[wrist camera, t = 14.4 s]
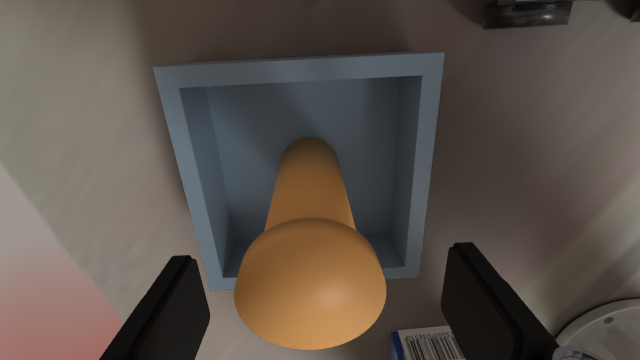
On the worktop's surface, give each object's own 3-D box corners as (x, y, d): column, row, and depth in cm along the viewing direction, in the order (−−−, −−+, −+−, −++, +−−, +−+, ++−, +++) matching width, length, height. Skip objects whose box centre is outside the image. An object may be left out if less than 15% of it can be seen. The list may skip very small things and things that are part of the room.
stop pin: (344, 128, 20) (390, 230, 9) (345, 195, 22) (383, 345, 11) (269, 132, 20) (221, 240, 9) (277, 199, 22) (246, 354, 11)
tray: (412, 50, 19) (445, 52, 14) (398, 235, 25) (418, 277, 20) (190, 61, 19) (152, 67, 14) (228, 245, 24) (210, 290, 20)
